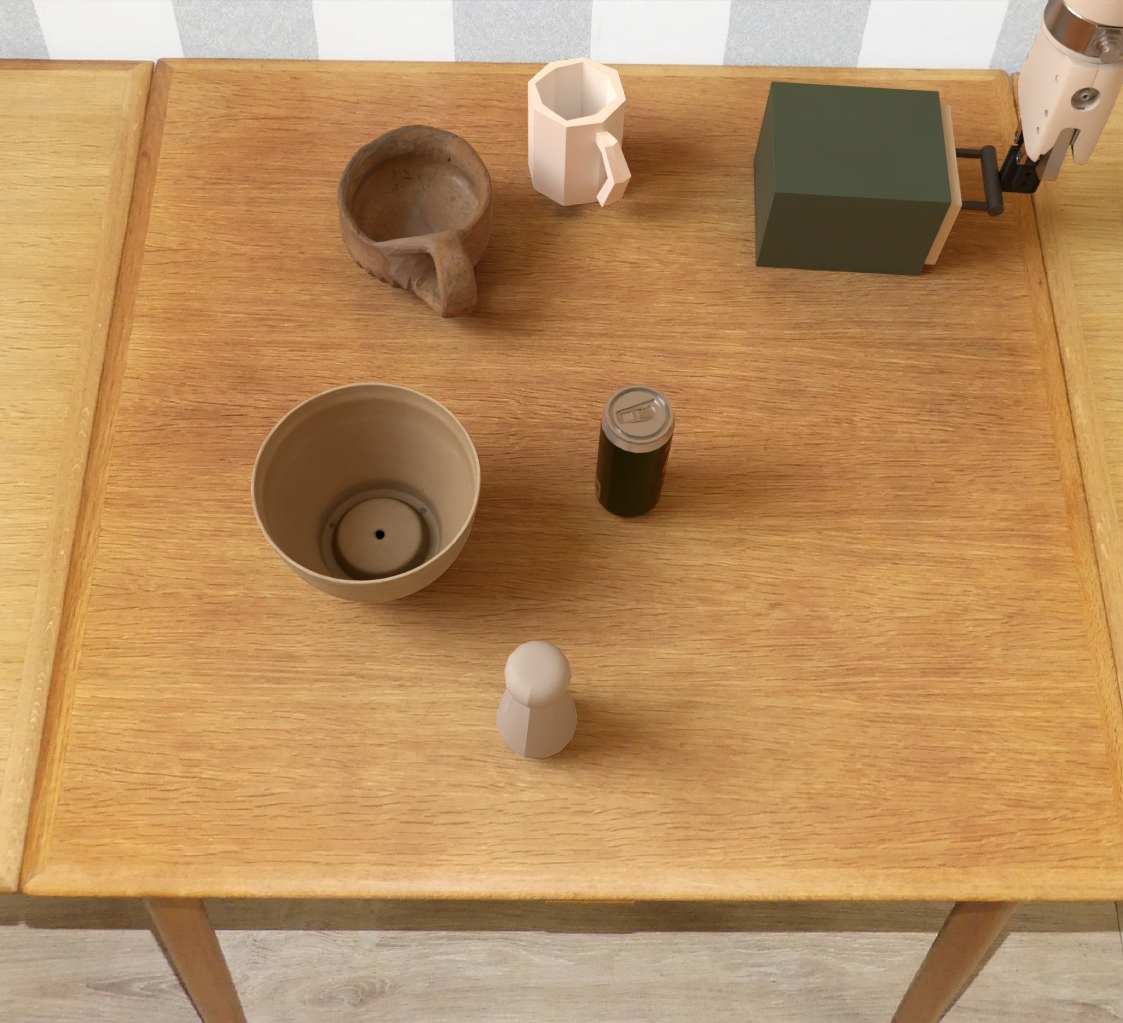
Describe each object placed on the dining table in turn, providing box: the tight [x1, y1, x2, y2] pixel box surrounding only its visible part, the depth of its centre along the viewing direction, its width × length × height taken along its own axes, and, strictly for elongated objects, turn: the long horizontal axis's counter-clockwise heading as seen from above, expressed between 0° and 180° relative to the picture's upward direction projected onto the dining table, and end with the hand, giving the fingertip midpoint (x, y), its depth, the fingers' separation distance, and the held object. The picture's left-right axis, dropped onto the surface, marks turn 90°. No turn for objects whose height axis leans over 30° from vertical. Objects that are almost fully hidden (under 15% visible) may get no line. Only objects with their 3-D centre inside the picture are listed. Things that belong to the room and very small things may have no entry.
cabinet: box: [753, 81, 952, 277], centre depth 108 cm, size 15×13×10 cm
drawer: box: [924, 103, 1005, 265], centre depth 108 cm, size 18×11×8 cm, turn 87°
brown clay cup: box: [336, 124, 494, 319], centre depth 105 cm, size 18×14×10 cm
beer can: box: [594, 384, 676, 519], centre depth 93 cm, size 5×5×12 cm
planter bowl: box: [250, 381, 482, 604], centre depth 91 cm, size 16×16×11 cm
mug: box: [527, 56, 632, 208], centre depth 109 cm, size 12×9×10 cm
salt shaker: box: [495, 640, 579, 760], centre depth 83 cm, size 6×6×13 cm
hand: (1015, 186), depth 107 cm, fingers closed
